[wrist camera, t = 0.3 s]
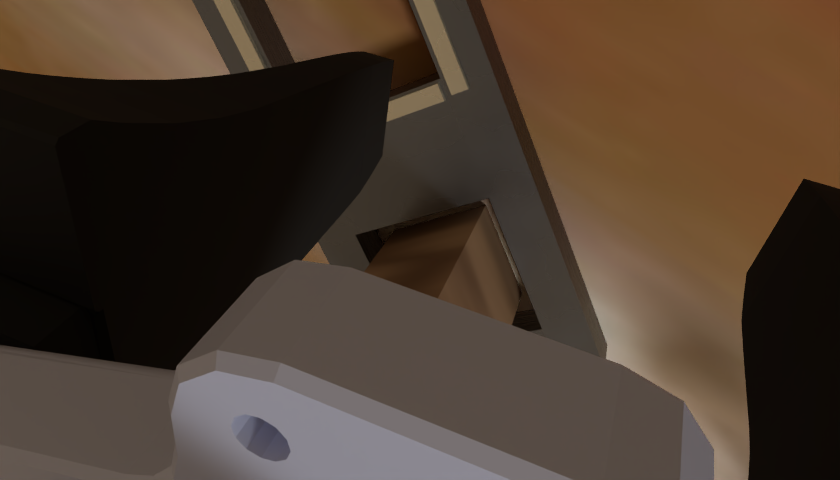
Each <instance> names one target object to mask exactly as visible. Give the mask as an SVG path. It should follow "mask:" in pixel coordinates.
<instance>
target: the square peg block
mask: <svg viewBox="0 0 840 480" xmlns="http://www.w3.org/2000/svg"><path fill="white" fill-rule="evenodd" d="M364 272H365V273H368V274H371V275H374V276H376V277H379V278H382V279H385V280H387V281H390V282H393V283H396V284H399V285H401V286H404V287H407V288H410V289H412V290H415V291H418V292H421V293H424V294H426V295H429V296H432V297H435V298H437V299H440V300H443V301H446V302H449V303H451V304H454V305H457V306H460V307H462V308H465V309H468V310H471V311H474V312H476V313H479V314H482V315H485V316H487V317H490V318H493V319H496V320H499V321H501V322H504V323H507V324H510V325H512V323H513V320H514V317H515V314H516V311H517V308H518V304H519V301H520V298H521V295H522V292H521V290H520V287H519V285H518V282H517V280H516V277H515V275H514V273H513V270H512V268H511V265H510V263H509V260H508V258H507V255H506V253H505V251H504V248H503V246H502V243H501V241H500V238H499V236H498V233H497V231H496V229H495V226H494V224H493V221H492V219H491V216H490V214H489V212H488V209H487V207H486V205H485V206H481V207H477V208H473V209H470V210H466V211H462V212H459V213H455V214H451V215H447V216H444V217H440V218H436V219H433V220H429V221H425V222H421V223H418V224H414V225H410V226H407V227H403V228H399V229H395V230H394V232H393V233H392V234H391V236H390V237H389V238H388V240H387V241H386V243H385V244H384V245H383V247H382V248H381V249H380V251H379V252H378V253H377V255H376V256H375V257H374V259H373V260H372V262H371V263H370V264H369V266H368V267H367V268H366V270H365V271H364Z"/></svg>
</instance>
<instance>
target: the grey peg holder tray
mask: <svg viewBox="0 0 840 480" xmlns="http://www.w3.org/2000/svg"><path fill="white" fill-rule="evenodd" d="M192 1H193V3H194V5H195V7H196V8H197V10H198V12H199V14H200V16H201V18H202V20H203V22H204V24H205V26H206V28H207V30H208V31H209V33H210V35H211V37H212V39H213V41H214V43H215V45H216V47H217V49H218V51H219V53H220V54H221V56H222V58H223V60H224V62H225V64H226V66H227V68H228V70H229V72H230V74H236V73H242V72H248V71H254V70H260V69H265V68H271V67H277V66H282V65H287V64H292V63H295V62H294V60H293V58H292V56H291V54H290V52H289V50H288V48H287V46H286V44H285V42H284V40H283V37H282V35H281V33H280V31H279V29H278V27H277V25H276V23H275V21H274V19H273V17H272V15H271V13H270V11H269V8H268V6H267V4H266V2H265V0H192ZM409 3H410V5H411V8H412V10H413V12H414V15H415V17H416V20H417V22H418V25H419V27H420V30H421V32H422V35H423V37H424V40H425V42H426V44H427V47H428V49H429V52H430V54H431V57H432V59H433V62H434V64H435V67H436V69H437V72H438V73H436V74H433V75H430V76H428V77H425V78H422V79H420V80H417V81H415V82H412V83H409V84H407V85H404V86H401V87H399V88H396V89H394V90H391V91H390V96H389V105H388V113H387V121H386V130H385V138H384V146H383V155H382V158H381V159H380V161H379V163H378V164H377V166H376V168H375V169H374V171H373V173H372V175H371V176H370V178H369V179H368V181H367V182H366V184H365V186H364V187H363V189H362V190H361V192H360V193H359V194H358V196H357V197H356V198H355V199H354V200H353V202H352V203H351V204H350V205H349V206H348V207H347V209H346V210H345V211H344V212H343V213H342V214H341V216H340V217H339V218H338V219H337V220H336V221H335V223H334V224H333V225H332V226H331V227H330V228H329V229H328V231H327V232H326V233H325V234H324V235H323V236H322V237H321V239H320V240H319V241H318V242H319V244H320V246H321V248H322V250H323V252H324V254H325V256H326V258H327V260H328V261H329V263H330V265H337V266H344V267H351V268H354V269H357V270H360V271H363V272H364V271H365V270H366V268H367V267H368V266H369V264H370V263H371V262H372V260H373V259H374V257H375V256H376V255H377V253H378V252H379V251H380V249H381V248H382V247H383V244H382V242H381V240H380V238H379V236H378V234H377V232H376V230H375V229H379V228H382V227H386V226H390V225H393V224H397V223H400V222H404V221H408V220H411V219H415V218H419V217H422V216H426V215H430V214H433V213H437V212H441V211H444V210H448V209H452V208H455V207H459V206H462V205H466V204H470V203H473V202H477V201H481V200H484V199H488V198H489V200H490V202H491V204H492V207H493V209H494V212H495V214H496V217H497V219H498V222H499V224H500V227H501V229H502V232H503V234H504V236H505V239H506V241H507V244H508V246H509V249H510V251H511V254H512V256H513V259H514V261H515V264H516V266H517V268H518V271H519V273H520V276H521V278H522V281H523V283H524V286H525V288H526V291H527V293H528V296H529V298H530V301H531V303H532V305H533V308H534V310H529V311H524V312H518V313H516V314H515V317H514V320H513V323H512V326H515V327H518V328H521V329H524V330H526V331H529V332H532V333H535V334H537V335H540V336H543V337H546V338H548V339H551V340H554V341H557V342H560V343H562V344H565V345H568V346H571V347H573V348H576V349H579V350H582V351H585V352H587V353H590V354H593V355H596V356H598V357H601V358H604V359H606V352H607V343H606V341H605V338H604V335H603V332H602V330H601V327H600V324H599V322H598V319H597V316H596V313H595V311H594V308H593V305H592V303H591V300H590V297H589V294H588V292H587V289H586V286H585V283H584V281H583V278H582V275H581V273H580V270H579V267H578V264H577V262H576V259H575V256H574V254H573V251H572V248H571V245H570V243H569V240H568V237H567V235H566V232H565V229H564V226H563V224H562V221H561V218H560V216H559V213H558V210H557V207H556V205H555V202H554V199H553V197H552V194H551V191H550V188H549V186H548V183H547V180H546V177H545V175H544V172H543V169H542V167H541V164H540V161H539V158H538V156H537V153H536V150H535V148H534V145H533V142H532V139H531V137H530V134H529V131H528V129H527V126H526V123H525V120H524V118H523V115H522V112H521V110H520V107H519V104H518V101H517V99H516V96H515V93H514V90H513V88H512V85H511V82H510V80H509V77H508V74H507V71H506V69H505V66H504V63H503V61H502V58H501V55H500V52H499V50H498V47H497V44H496V42H495V39H494V36H493V33H492V31H491V28H490V25H489V23H488V20H487V17H486V14H485V12H484V9H483V6H482V4H481V1H480V0H409Z"/></svg>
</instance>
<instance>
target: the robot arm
mask: <svg viewBox="0 0 840 480" xmlns="http://www.w3.org/2000/svg"><path fill="white" fill-rule="evenodd" d="M393 63H394V60H391V59H388V58H384V57H381V56H377V55H374V54H370V53H367V52H348V53H341V54H336V55H330V56H325V57H321V58H316V59H311V60H306V61H301V62H297V63H292V64H287V65H282V66H277V67H271V68H265V69H260V70H254V71H248V72H242V73H236V74H229V75H222V76H213V77H202V78H189V79H173V80H105V79H87V78H73V77H61V76H49V75H40V74H31V73H23V72H17V71H10V70H3V69H0V480H714V449H713V447H712V446H711V444H710V442H709V441H708V439H707V438H706V436H705V434H704V433H703V431H702V430H701V428H700V426H699V425H698V423H697V422H696V420H695V418H694V417H693V415H692V414H691V412H690V410H689V409H688V407H687V406H686V404H685V402H684V401H682V400H681V399H679V398H677V397H675V396H674V395H672V394H670V393H669V392H667V391H665V390H664V389H662V388H660V387H659V386H657V385H655V384H653V383H652V382H650V381H648V380H647V379H645V378H643V377H642V376H640V375H638V374H637V373H635V372H633V371H631V370H630V369H628V368H626V367H625V366H623V365H621V364H618V363H615V362H612V361H610V360H607V359H604V358H601V357H598V356H596V355H593V354H590V353H587V352H585V351H582V350H579V349H576V348H573V347H571V346H568V345H565V344H562V343H560V342H557V341H554V340H551V339H548V338H546V337H543V336H540V335H537V334H535V333H532V332H529V331H526V330H524V329H521V328H518V327H515V326H512V325H510V324H507V323H504V322H501V321H499V320H496V319H493V318H490V317H487V316H485V315H482V314H479V313H476V312H474V311H471V310H468V309H465V308H462V307H460V306H457V305H454V304H451V303H449V302H446V301H443V300H440V299H437V298H435V297H432V296H429V295H426V294H424V293H421V292H418V291H415V290H412V289H410V288H407V287H404V286H401V285H399V284H396V283H393V282H390V281H387V280H385V279H382V278H379V277H376V276H374V275H371V274H368V273H365V272H363V271H360V270H357V269H354V268H351V267H344V266H337V265H330V264H322V263H315V262H308V261H301V260H302V259H303V258H304V257H305V256H306V255H307V253H308V252H309V251H310V250H311V249H312V248H313V247H314V245H315V244H316V243H317V242H318V241H319V240H320V239H321V237H322V236H323V235H324V234H325V233H326V232H327V231H328V229H329V228H330V227H331V226H332V225H333V224H334V223H335V221H336V220H337V219H338V218H339V217H340V216H341V214H342V213H343V212H344V211H345V210H346V209H347V207H348V206H349V205H350V204H351V203H352V202H353V200H354V199H355V198H356V197H357V196H358V194H359V193H360V192H361V190H362V189H363V187H364V186H365V184H366V182H367V181H368V179H369V178H370V176H371V175H372V173H373V171H374V169H375V168H376V166H377V164H378V163H379V161H380V159H381V158H382V155H383V146H384V138H385V130H386V121H387V113H388V105H389V96H390V88H391V80H392V71H393ZM742 337H743V352H744V366H745V379H746V392H747V405H748V418H749V437H750V460H749V477H748V480H840V189H838V188H834V187H831V186H827V185H824V184H820V183H817V182H814V181H810V180H807V179H803V181H802V182H801V184H800V186H799V187H798V189H797V191H796V192H795V194H794V196H793V197H792V199H791V201H790V202H789V204H788V206H787V207H786V209H785V211H784V212H783V214H782V216H781V217H780V219H779V220H778V222H777V224H776V225H775V227H774V229H773V230H772V232H771V234H770V235H769V237H768V239H767V240H766V242H765V244H764V245H763V247H762V249H761V250H760V252H759V254H758V255H757V257H756V259H755V260H754V262H753V264H752V265H751V267H750V268H749V270H748V272H747V274H746V283H745V291H744V299H743V310H742Z"/></svg>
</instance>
